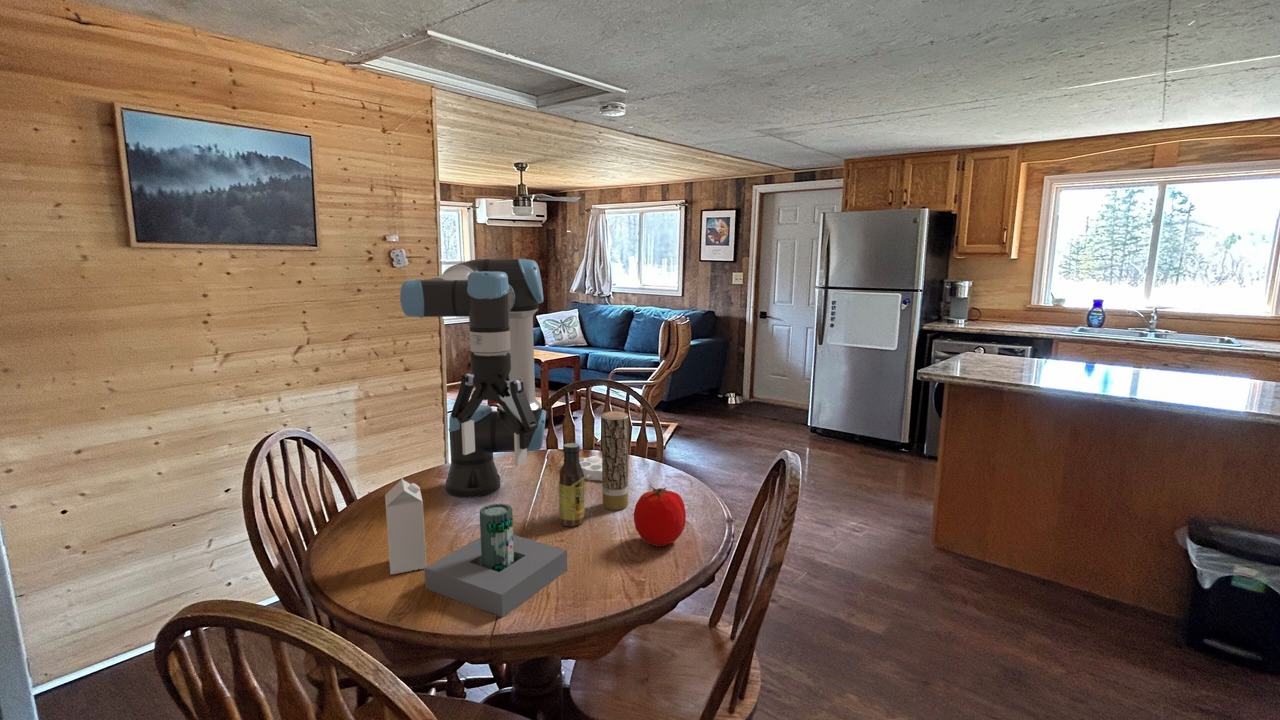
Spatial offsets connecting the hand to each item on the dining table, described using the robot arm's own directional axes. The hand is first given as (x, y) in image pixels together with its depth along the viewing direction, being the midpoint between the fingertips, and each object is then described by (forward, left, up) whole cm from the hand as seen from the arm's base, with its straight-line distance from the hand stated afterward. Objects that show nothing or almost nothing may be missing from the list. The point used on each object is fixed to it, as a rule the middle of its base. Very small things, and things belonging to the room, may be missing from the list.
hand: (494, 458), depth 121 cm
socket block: (0, 0, -26) cm, 26 cm away
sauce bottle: (-3, +30, -26) cm, 40 cm away
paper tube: (+1, +44, -26) cm, 51 cm away
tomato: (+21, +31, -26) cm, 45 cm away
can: (0, 0, -26) cm, 26 cm away
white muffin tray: (-18, +63, -26) cm, 71 cm away
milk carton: (-21, -5, -26) cm, 34 cm away
